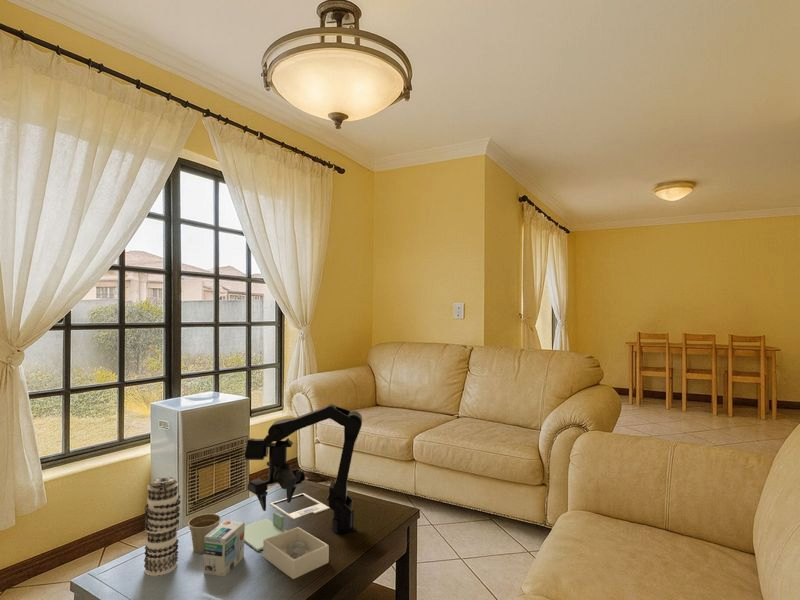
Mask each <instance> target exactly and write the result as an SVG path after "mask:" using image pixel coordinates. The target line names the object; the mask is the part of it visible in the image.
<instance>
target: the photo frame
mask: <svg viewBox="0 0 800 600" xmlns="http://www.w3.org/2000/svg"><path fill="white" fill-rule="evenodd" d="M302 495H303V496H304V497H305V498H307V499H309V500H310V501H312V502H314V503H316V504H314V505H311V506H309V507H305V508H302V509H298V510H297V511H293V512H291V513H288V512H287V511H285V510H284V509H282V508H281V507H279V506H278V505H276V504H277V503H280V502H283V501H286V500H287V497H286V498H283V499H280V500H277V501H273V502H270V503H269V505H270V506H271V507H273V508H274V509H275V510H278V511H279V512H281V513H282V514H283V515H286V516H287V517H289V518H290V519H291V520H294V519H297V518H300V517H302V516H305V515H307V514H310V513H314V514H319V513H321V512H323V511H324V512H325V511H327V510H331V508H330V507H329V505H326V504H324V503H323V502H321V501H319V500H317V499H315V498H314V497H311V496H310V495H308V494H307V493H304V492H302V493H299V494H296V495H293V496H292V499H294V498H296V497H299V496H302Z"/></svg>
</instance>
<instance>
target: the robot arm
mask: <svg viewBox="0 0 800 600" xmlns="http://www.w3.org/2000/svg"><path fill="white" fill-rule="evenodd" d="M329 419H330V420H332V421H334V422H336V423H337V424H338V425H340V426H343V427H344V429H343V430H344V432H343V434H344V435H343V436H344V437H343V438H344V439H343V440H344V441H343V446H342V451H341V456H340V460H339V466H338V470H337V474H336V475H337V476H336V479H335V481H330V484H329V489H328V493H327V498H326V501H328V507H330V510H332V511H333V517H332V527H331V528H330V530H331V531H333V532H334V533H335V534H339V535H340V536H344V535H346V534H349V533H350V534H351V533H354V532H356V531H357V528H356V527H355V526H354V524H355V523H354V520H355V519H354V517H355V515H354V514H355V513H354V512H355V511H354V510H353V507H354V506H353V505H354V504H353V503H354V500H353V499H352V498H351V497H350V496H349V495H348V478H349V473H350V468H351V464H352V463H351V462H352V457H353V453H354V448H355V443H356V441H357V439H358V435H359V433H360V430H361V429H362V426H363V425H362V424H363V416H362V414H361V413H360V412H359V411H357V410H352V411H350V410H349V409H347V408H342V407H340V406H337V405H335V404H332V403H330V404H328V405H326V406H324V407H321V408H319V409H316V410H313V411H310V412H306V413H305V414H302V415H299V416H296V417H292V418H283V419H278V420H275V421H274V422H273V423H272V424H271V425H270V426H269V428H268V429H267V430H268V432H267V435H266V436H265V437H264V438H253V437H252V438H248V439H247V440H246V441H247V442H246V445H245V450H244V460H245V461H264V460H265V458H267V457H268V461H266V466H268V473H267V474H266V478H267V480H262V479H261V478H258V479H257V478H256V479H253V480H250V481H249V482H248V484H247V491H249V492H250V493H252V494H254V495H255V496H256V497H257V499H258V501H259V504H260V507H261V509H262V511H263V512H265V511H267V495H268V493H269V492H268V491H267V490H268V487H270V486H275V485H277V484H278V485H279V486H280V488H281V489H282V490H286V491H285V492H286V498H287V501H286V502H287V503H289V504H291V502H292V499H293V498H292V496H294V493H295V490H296V488H297V487H298V486H299V485H300V484H302V483H303V482H304V481H306V473H305V472H304V471H303V470H301V469H300V468H292V469H290V464H289V462H288V460H287V455H288V453H287V451H288V448H292V447H293V444H294V442H293V441H291V440H290V438H289V436H291V435H292V434H293V433H295V432H297V431H299V430H302V429H304V428H307V427H309V426H312V425H314V424H315V425H316V424H319V423H320V422H322V421H325V420H329ZM287 437H288V438H287ZM284 439H285V440H284Z"/></svg>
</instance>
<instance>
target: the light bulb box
mask: <svg viewBox="0 0 800 600" xmlns="http://www.w3.org/2000/svg"><path fill="white" fill-rule="evenodd" d="M245 526H246V524H245V522H241V521H240V522H239V521H234V520H233V521H232V520H226V519H225V520H224V521H223V522H222V523H219V525H218V527H216V528H215V529H214V530H212V531H211V532H210V533H209V534H207V535H206V536H205V543H204V552H203V557H204V558H203V575H204V576H205V575H214V576H218V577H219V576H220V577H225V576H226V575H228V574H229V573H230V572H231V570H232V569H234V567H236V566H237V565H238V563H240V562H241V561H242V560H243V559H244V557H245V541H244V531H245Z"/></svg>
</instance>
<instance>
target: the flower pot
mask: <svg viewBox="0 0 800 600" xmlns="http://www.w3.org/2000/svg"><path fill="white" fill-rule="evenodd" d="M221 517H222V516H220V515H219V514H216V513H204V514H199V515H196V516H194V517H192V518H190V519H189V520H188V521H187V525H188V528H189V530H190V536H191V541H192V550H193V552H194V553H198V554H203V553H204V543H205V536H206V535H207V534H209V533H210V532H211V531H212V530H214V529H215V528H216V527H218V526H219V525H220V522H221V520H222V518H221Z"/></svg>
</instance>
